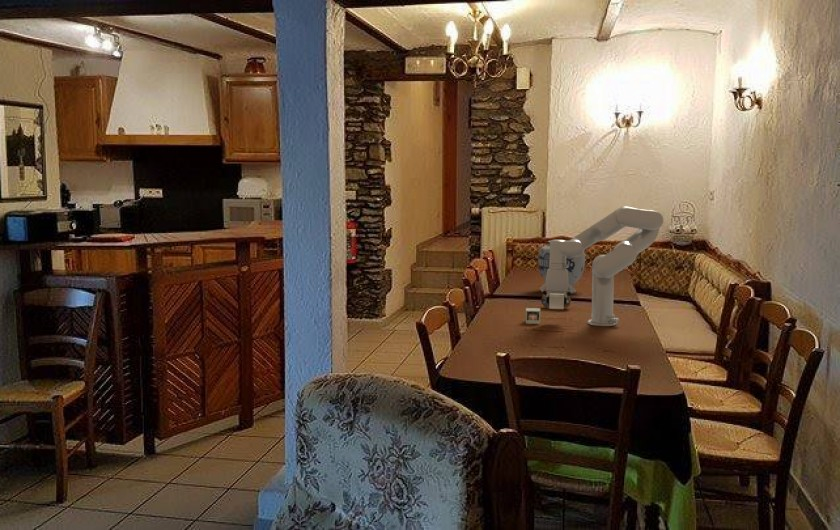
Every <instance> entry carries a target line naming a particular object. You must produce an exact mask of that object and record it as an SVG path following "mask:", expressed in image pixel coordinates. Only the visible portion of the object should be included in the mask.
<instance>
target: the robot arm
mask: <svg viewBox="0 0 840 530" xmlns="http://www.w3.org/2000/svg"><path fill="white" fill-rule="evenodd" d="M663 224H664V217H663V215H662V213H660V212H659V211H657V210H654V209H641V208H635V207H630V206H628V205H627V206H626V205H625V206H620V207H619V208H617V209H616V210H615V209H614V211H613V212H611V213H609V214H608V215H607V216H605V217H603V218H602V219H600V220H599V221H597V222H595V223H593V225H590V227H588V228H586V229H585V230H583V231H582V232H580V233H579V234H577V235H576V236H574V237H572V238H571V239H569V241H565V239H552V241H551V240H550V241H551V242H550V263H549V269H548V270H547V276H546V281H545V282H544V284H542V285H540V287H539V290H540V291H541V292H542V294H543V295H544V294H545V295H546V297H547V302H546V303H547V304H548V306H549V300H550V297H549V294H550V292H551V291H555V292H563V294H564V306H565V304H567V297H568V296H569V297H570V296H571V295H572V294H573V293H572V292H573V291H574V289H575V288H573V287H572V286H571V285H570V284H569V283H568V270H566V268H568V267H569V265H568V264H566V256H572V257H578V256H580V255H582V254H583V252H584V253H585V250H586V249H587V248H590V247H591V246H592V245H594V244H596V243H598V242H601V241H605V240H607V239H608V238H610V237H612V236H613V235H615V234H616V233H618V232H619V231H621V230H623V229H624V228H626V227H628V228H632V229H633V228H634V229H637V231H635V232H634V233H633V234H631V235H630V236H628V237H627V238H625V239H623V240H622V241H620V242H618V243H617V244H615V246H614V247H613V249H612V250H611V251H609V252H608V253H607V254H599V255H597V256H596V257H595V258H594V259H593V261H592V264H591V276H592V278H591V315H590V316H591V317H590V319H588V320H587V324H588V325H591V326H596V327H613V326H616V325H617V324H619V322H620V318H618V317H616V314H614V293H615V291H614V288H615V286H614V285H615V284H614V283H615V282H614V281H615V278H614V277H615V275H617V274H618V273H620V272H621V271H623V270H624V269H626V268H628V267H629V266H630V265H632V264H633V263H634V262H635V261H636V259H637V257H638V255H639V254H640V253H642V252H643V251H644V250H645V249H647V248H649V247H650V246H651V245H652V244H653V243H654V242H655V241H656V239H657V238H658V236H659V233H660V228H661V227H662V226H663ZM568 287H569V288H570V291H569V292H568V293H566V291H568ZM545 290H547V291H548V292H546V291H545ZM571 293H572V294H571Z"/></svg>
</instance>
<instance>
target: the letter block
mask: <svg viewBox="0 0 840 530" xmlns="http://www.w3.org/2000/svg"><path fill="white" fill-rule="evenodd" d="M529 320H537V313H529Z"/></svg>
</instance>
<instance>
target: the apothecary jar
mask: <svg viewBox="0 0 840 530" xmlns="http://www.w3.org/2000/svg"><path fill="white" fill-rule="evenodd" d="M552 240H553V239H552ZM552 240H548V241H547V242H548V244H546V245H544V246H541V247H540V249H539V251H538V256H537V257H538V259H537V261H538V262H537V263H538V270H539V273H540V276H541V277H542V278H543V280H544V282H546V276H547V270H548V269H549V263H550V242H551V241H552ZM564 240H565V239H564ZM565 241H570V239H569V240H567V239H566V240H565ZM566 264H568V265H569V267H568V268H566V270H568V283H569V284H570V285H571V286H572V287H573V288H574V287H575V285H576V283H578V282H579V280H580V278H582V275H583V274H584V271H585V264H586V255H585V251H584V252H583V254H582V255H580V256H578V257H572V256H566ZM544 290H545V291H546V292H548V291H547V290H546V289H544ZM569 291H570V288H569V287H568V291H566V293H568V292H569ZM551 292H554V293H563V292H555V291H551ZM576 292H577V290H576V289H575V288H574V291H573V292H572V293H571V294H570V295H572V294H576Z"/></svg>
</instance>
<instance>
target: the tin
mask: <svg viewBox="0 0 840 530" xmlns="http://www.w3.org/2000/svg"><path fill="white" fill-rule="evenodd" d="M550 293H553V294H563V293H554V292H550ZM549 297H550V294H549ZM546 302H547V297H546V295H545V294H544V293H543V294H542V296H541V304H542V306H543V307H544V308H545V309H549V306H548V304H547V303H546ZM571 303H572V298H571V297H570V295H569V296H568V297H567V304H565V306H564V309H563V310H566V309H568V308H569V307H570V306H571Z"/></svg>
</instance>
